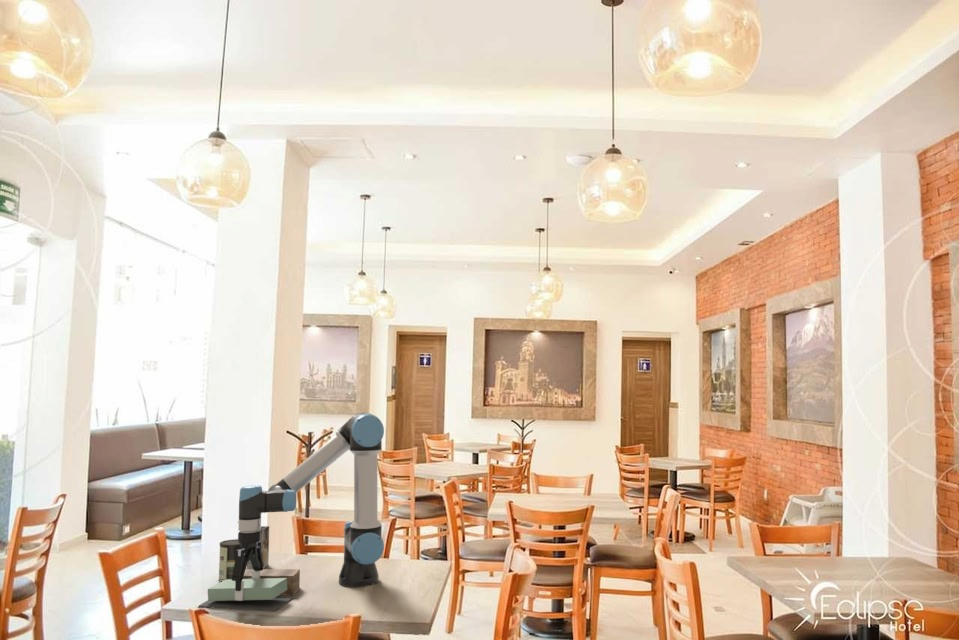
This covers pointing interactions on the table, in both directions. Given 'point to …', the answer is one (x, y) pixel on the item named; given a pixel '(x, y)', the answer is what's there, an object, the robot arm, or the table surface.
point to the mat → (250, 604)
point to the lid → (248, 589)
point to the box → (290, 574)
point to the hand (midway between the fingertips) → (247, 595)
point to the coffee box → (263, 546)
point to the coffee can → (227, 558)
